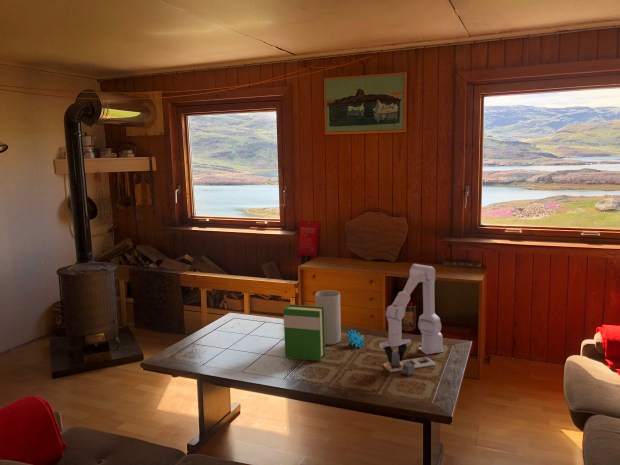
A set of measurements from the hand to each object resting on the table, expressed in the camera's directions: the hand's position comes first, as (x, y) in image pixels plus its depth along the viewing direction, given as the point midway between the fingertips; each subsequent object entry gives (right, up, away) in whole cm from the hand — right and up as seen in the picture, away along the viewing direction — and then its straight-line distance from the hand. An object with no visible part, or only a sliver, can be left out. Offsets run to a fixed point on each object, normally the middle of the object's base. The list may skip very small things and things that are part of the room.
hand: (395, 361), depth 228 cm
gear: (-15, +1, +28) cm, 32 cm away
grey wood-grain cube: (+5, -4, -5) cm, 8 cm away
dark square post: (0, -2, 0) cm, 2 cm away
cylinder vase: (-28, +2, +36) cm, 45 cm away
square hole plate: (+7, -2, +2) cm, 8 cm away
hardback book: (-40, -2, +17) cm, 44 cm away
